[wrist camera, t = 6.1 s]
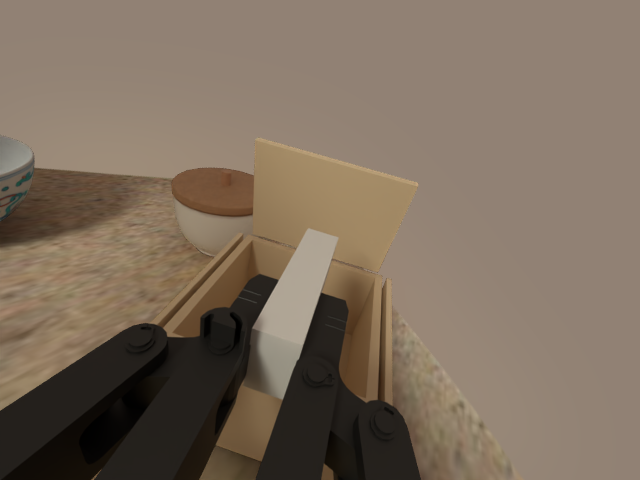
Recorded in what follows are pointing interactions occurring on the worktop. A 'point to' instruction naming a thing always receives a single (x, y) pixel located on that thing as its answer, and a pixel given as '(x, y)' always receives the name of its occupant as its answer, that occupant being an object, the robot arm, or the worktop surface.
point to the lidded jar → (213, 206)
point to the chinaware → (14, 174)
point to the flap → (327, 202)
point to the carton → (342, 282)
